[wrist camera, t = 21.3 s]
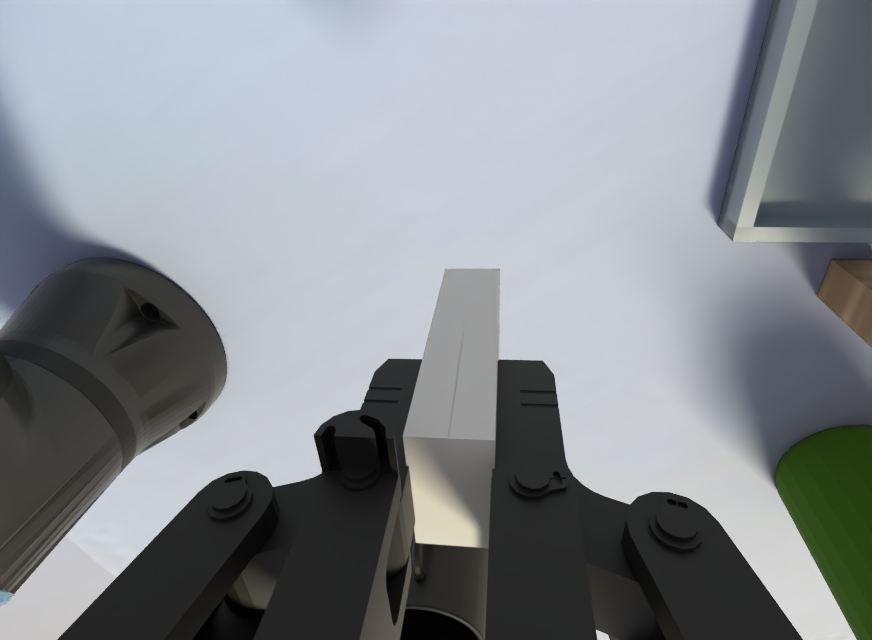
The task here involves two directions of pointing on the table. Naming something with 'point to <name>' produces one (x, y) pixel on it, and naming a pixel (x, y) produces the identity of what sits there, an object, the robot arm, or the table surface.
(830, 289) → the small wooden table
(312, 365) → the table surface
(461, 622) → the mug
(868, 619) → the wine bottle
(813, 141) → the tray
